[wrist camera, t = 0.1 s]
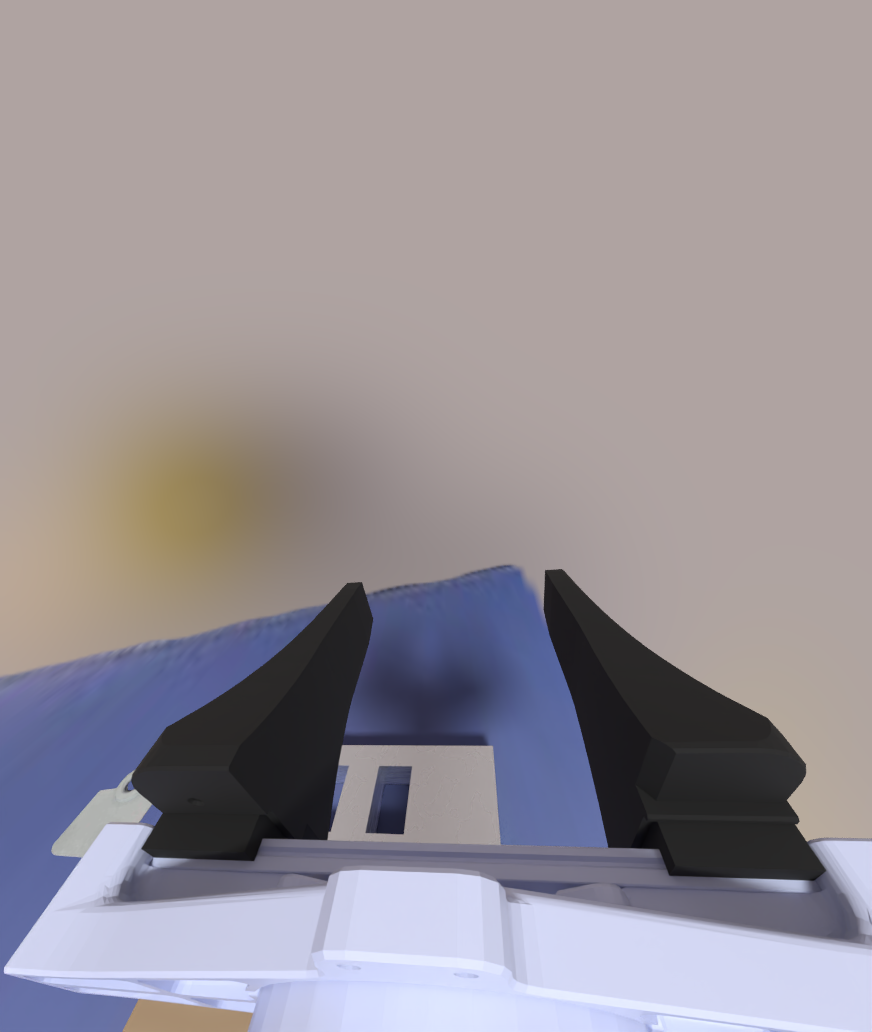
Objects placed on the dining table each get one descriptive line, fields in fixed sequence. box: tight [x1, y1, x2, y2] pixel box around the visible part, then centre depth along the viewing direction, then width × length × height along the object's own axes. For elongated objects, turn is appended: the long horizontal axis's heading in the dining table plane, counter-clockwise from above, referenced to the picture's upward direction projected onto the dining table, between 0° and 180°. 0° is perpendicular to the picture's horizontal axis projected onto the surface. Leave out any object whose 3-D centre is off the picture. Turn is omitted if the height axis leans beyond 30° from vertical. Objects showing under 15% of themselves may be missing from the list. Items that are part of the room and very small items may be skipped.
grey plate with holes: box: [328, 745, 501, 845], centre depth 24 cm, size 7×20×2 cm, turn 86°
